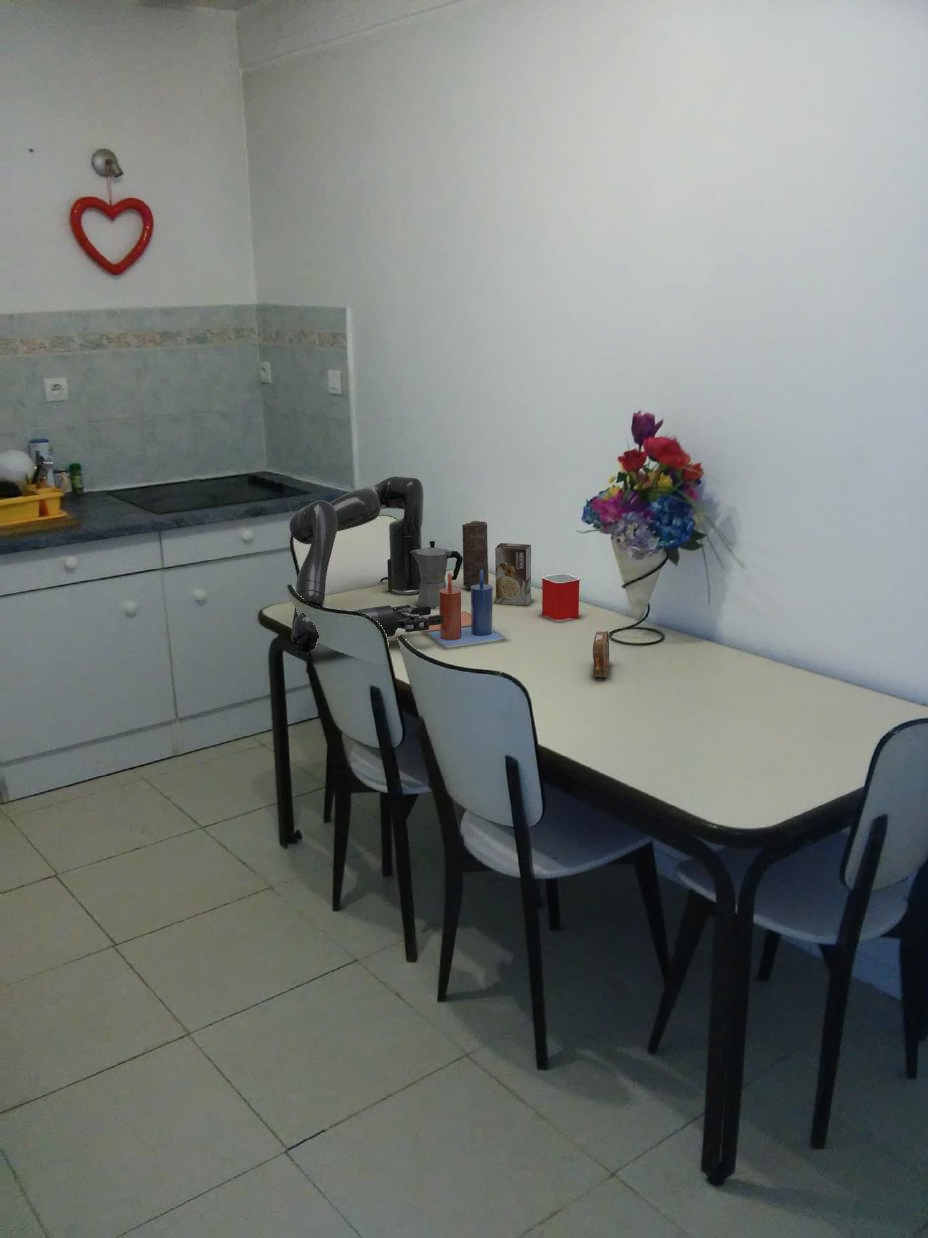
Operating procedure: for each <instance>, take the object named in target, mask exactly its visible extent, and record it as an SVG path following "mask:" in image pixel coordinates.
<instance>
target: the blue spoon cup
mask: <svg viewBox="0 0 928 1238" xmlns="http://www.w3.org/2000/svg"><path fill="white" fill-rule="evenodd" d="M470 615H471V633H472V634H473V635H476V636H487V635H491V634H492V633H493V631H494V630H493V626H494V625H493V621H494V620H493V586H492V585H490V584H489V585H486V584H483V570H480V584H477V585H473V586H471V589H470Z"/></svg>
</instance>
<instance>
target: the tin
mask: <svg viewBox="0 0 928 1238" xmlns="http://www.w3.org/2000/svg"><path fill="white" fill-rule="evenodd" d="M609 638H610V637H609V631H608V630H606V631H596V632H595V635H594V639H593V643H592V659H593V677H594V678H604V679H605V678H607V677H608V671H609V667H610V639H609Z"/></svg>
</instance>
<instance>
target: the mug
mask: <svg viewBox="0 0 928 1238" xmlns="http://www.w3.org/2000/svg"><path fill="white" fill-rule="evenodd" d="M580 581H581V578H580V577H578V576H575V575H572V574H569V573H565V572H560V573H553V574H548V575H543V576H541V591H542V592H541V594H542V595H541V596H542V597H541V599H542V600H541V601H542V602H541V615H542V616H545V617H546V618H550V619H552V620H556V621H562V620H568V619H572V620H575V619H579V616H580V614H579V613H580Z"/></svg>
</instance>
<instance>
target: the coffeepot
mask: <svg viewBox="0 0 928 1238" xmlns="http://www.w3.org/2000/svg"><path fill="white" fill-rule="evenodd" d="M435 545H436V541H435V540H430V541H429V547H425V548H422V549H417V550H412V551H411V552H410V553H411V554H412V555H413V556H414V558H415V560H416V561H417V563H418V566H419V572H420V576H421V583H420V591H419V593H418V597H417V598H418V599H417V607H423V606H430V607H431V610H432V609H433V610H434V609H436V608H438V607H439V590H441V589H444V588H447V584H446V575H447V567H448V560H449V559H454V558H455V559H456V561H455V565H454V566H455V567H454V569H453V571H452V572H453V574H452V581H456V580H457V579H458V576H459V573H460V570H461V567H462V565H463V555H461V553H460V552H459V551H458V550H448V549H446V548H440V547H436V546H435Z"/></svg>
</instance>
